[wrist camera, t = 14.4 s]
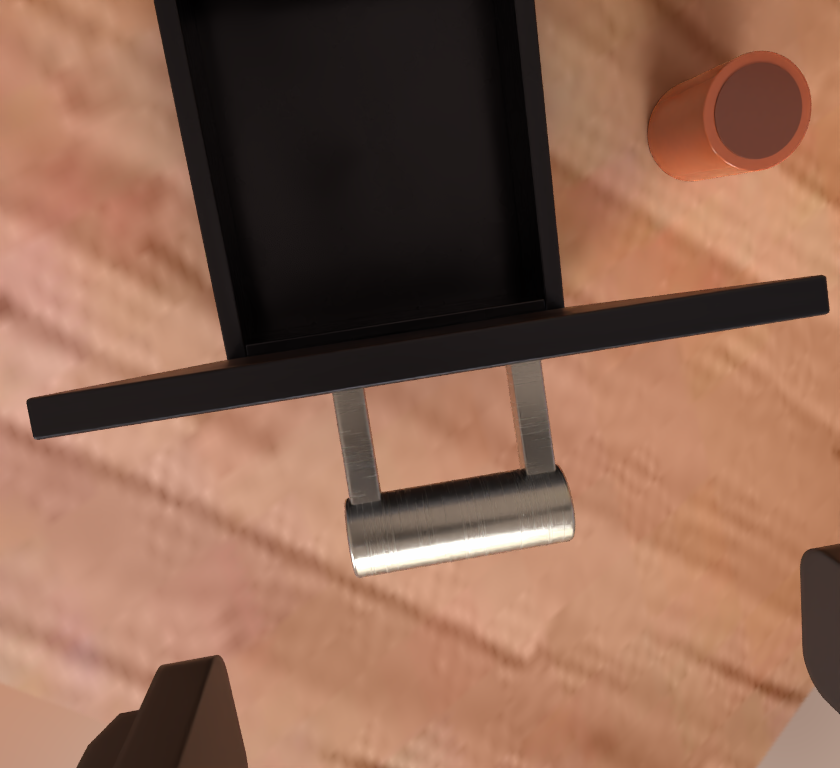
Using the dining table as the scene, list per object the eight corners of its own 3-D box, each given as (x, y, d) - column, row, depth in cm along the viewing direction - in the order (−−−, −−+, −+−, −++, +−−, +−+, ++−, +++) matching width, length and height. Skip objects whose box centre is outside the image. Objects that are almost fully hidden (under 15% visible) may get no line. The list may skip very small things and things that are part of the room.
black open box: (170, -20, 33) (140, -64, 28) (500, -61, 34) (524, -109, 29) (244, 350, 37) (228, 367, 32) (538, 304, 38) (565, 314, 33)
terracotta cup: (643, 87, 36) (700, 58, 30) (737, 74, 36) (811, 43, 30) (650, 187, 37) (707, 178, 31) (741, 174, 37) (814, 162, 32)
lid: (23, 398, 13) (77, 664, 14) (827, 274, 14) (853, 525, 15) (225, 360, 32) (245, 472, 32) (567, 307, 33) (582, 417, 33)
